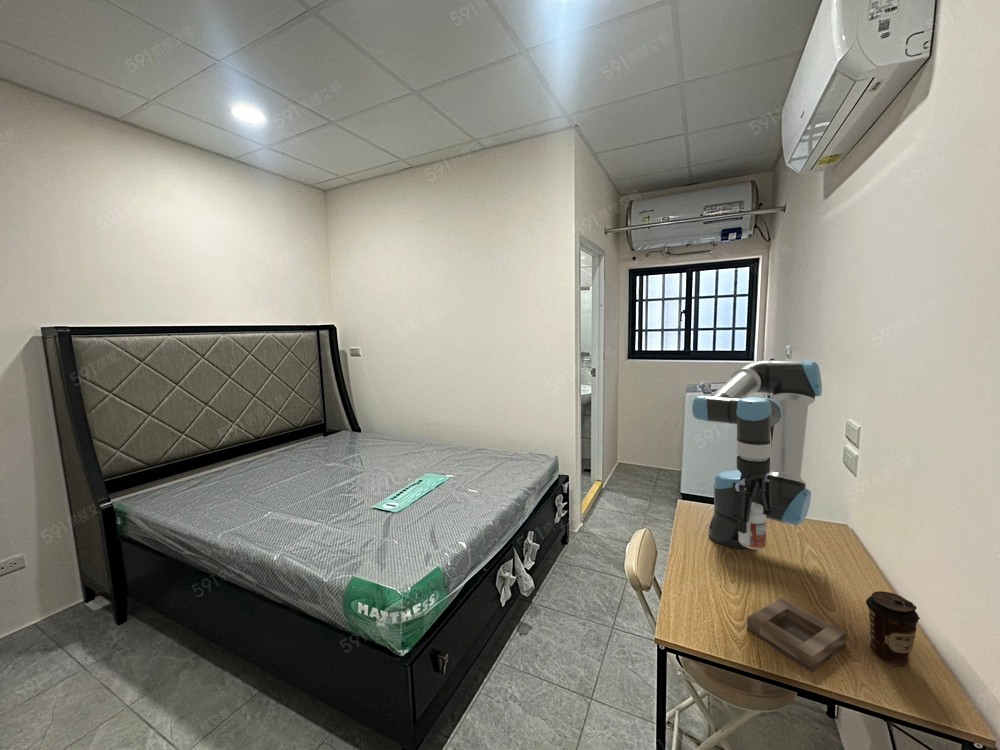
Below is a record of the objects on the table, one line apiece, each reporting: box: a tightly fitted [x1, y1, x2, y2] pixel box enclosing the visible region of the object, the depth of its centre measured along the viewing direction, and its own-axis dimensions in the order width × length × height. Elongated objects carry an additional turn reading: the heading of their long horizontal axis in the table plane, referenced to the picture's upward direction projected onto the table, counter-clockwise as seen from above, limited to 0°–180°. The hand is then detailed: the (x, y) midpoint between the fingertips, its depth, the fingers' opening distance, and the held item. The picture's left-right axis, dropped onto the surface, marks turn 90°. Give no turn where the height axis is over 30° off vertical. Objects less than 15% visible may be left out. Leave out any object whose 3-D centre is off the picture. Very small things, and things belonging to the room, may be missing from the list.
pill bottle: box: [740, 502, 767, 551], centre depth 109 cm, size 6×6×11 cm
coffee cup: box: [865, 591, 921, 667], centre depth 89 cm, size 9×8×13 cm
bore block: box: [746, 597, 847, 672], centre depth 96 cm, size 14×14×4 cm
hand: (752, 539), depth 110 cm, fingers closed on pill bottle, 6 cm apart
